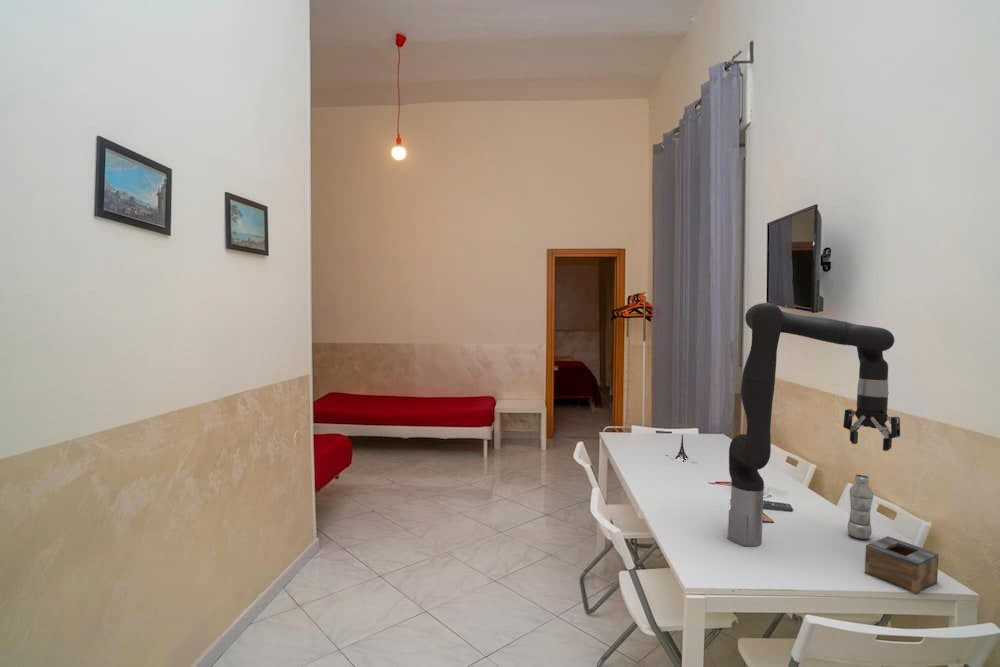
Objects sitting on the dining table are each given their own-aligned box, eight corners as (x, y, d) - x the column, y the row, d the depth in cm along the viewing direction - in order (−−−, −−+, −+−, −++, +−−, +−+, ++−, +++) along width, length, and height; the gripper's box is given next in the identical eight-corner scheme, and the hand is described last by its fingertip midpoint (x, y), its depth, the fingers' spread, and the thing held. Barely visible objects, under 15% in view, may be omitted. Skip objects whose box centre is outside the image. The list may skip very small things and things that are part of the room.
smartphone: (755, 505, 192) (775, 522, 177) (755, 507, 192) (775, 524, 177) (735, 504, 192) (753, 520, 177) (734, 506, 192) (753, 523, 177)
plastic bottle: (842, 535, 168) (845, 475, 167) (853, 531, 171) (856, 472, 170) (864, 543, 162) (867, 480, 161) (875, 539, 165) (878, 477, 164)
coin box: (915, 594, 133) (917, 563, 133) (864, 573, 143) (865, 545, 143) (937, 582, 139) (938, 553, 138) (886, 563, 149) (887, 536, 149)
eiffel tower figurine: (663, 455, 260) (664, 429, 260) (682, 455, 262) (683, 429, 261) (678, 464, 245) (679, 436, 245) (698, 463, 247) (699, 436, 246)
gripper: (840, 391, 159) (838, 443, 160) (893, 398, 147) (890, 454, 147) (853, 389, 163) (851, 440, 163) (906, 396, 150) (903, 451, 151)
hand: (869, 447), depth 155 cm, fingers open, 8 cm apart
